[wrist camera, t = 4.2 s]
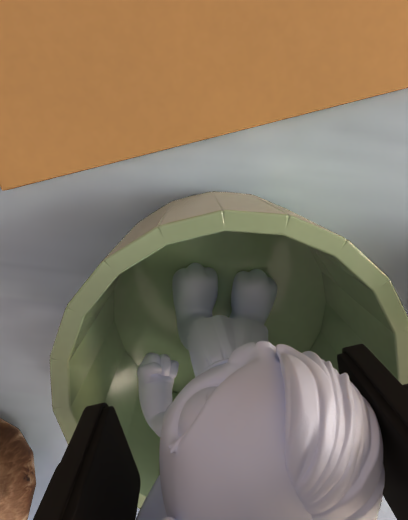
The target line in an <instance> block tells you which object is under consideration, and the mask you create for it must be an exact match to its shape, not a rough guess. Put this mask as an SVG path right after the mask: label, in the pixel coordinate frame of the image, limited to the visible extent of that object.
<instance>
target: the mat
mask: <svg viewBox="0 0 408 520" xmlns="http://www.w3.org/2000/svg"><path fill="white" fill-rule="evenodd" d="M405 88H408V0H0V186H1V189H2V190H9V189H13V188H17V187H21V186H25V185H28V184H32V183H36V182H40V181H44V180H48V179H52V178H56V177H60V176H64V175H68V174H72V173H76V172H79V171H83V170H87V169H91V168H95V167H99V166H103V165H107V164H111V163H115V162H119V161H123V160H127V159H130V158H134V157H138V156H142V155H146V154H150V153H154V152H158V151H162V150H166V149H170V148H174V147H177V146H181V145H185V144H189V143H193V142H197V141H201V140H205V139H209V138H213V137H217V136H221V135H225V134H228V133H232V132H236V131H240V130H244V129H248V128H252V127H256V126H260V125H264V124H268V123H272V122H276V121H279V120H283V119H287V118H291V117H295V116H299V115H303V114H307V113H311V112H315V111H319V110H323V109H327V108H330V107H334V106H338V105H342V104H346V103H350V102H354V101H358V100H362V99H366V98H370V97H374V96H377V95H381V94H385V93H389V92H393V91H397V90H401V89H405Z"/></svg>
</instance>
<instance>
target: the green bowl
mask: <svg viewBox="0 0 408 520" xmlns="http://www.w3.org/2000/svg"><path fill="white" fill-rule="evenodd" d="M195 262H196V263H200V264H201V265H202V266H203V267H210V268H213V269H214V270H215V271H216V273H217V276H218V294H217V299H216V302H215V305H214V307H213V310H212V315H213V316H215V315H224V316H227V317H229V316H230V314H231V311H232V307H231V291H232V285H233V280H234V277H235V275H236V274H237V273H238V272H240V271H247V272H250V271H251V270H253V269H260V270H262V271H263V272H265V273H266V275H267V276H268V277H271V278H272V279H273V280H274V281H275V282H276V284H277V295H276V298H275V301H274V304H273V307H272V309H271V312H270V314H269V316H268V318H267V320H266V322H265V324H264V325H265V326H266V327H267V329H268V342H270V343H271V344H272V345H274V346H275V347H276V346H277V345H278V344H284V345H288V346H290V347H292V348H294V349H295V350H297V351H299V352H301V353H303V352H305V351H312V352H314V353H316V354H317V355H318V356H319V357H320V358H321V359H323V360H324V361H325V362H326V361H330V362H331V364H332V366H333V368H335V369H336V370H337V371H338V372H339V369H338V362H337V355H338V354H341V353H342V349H343V348H344V347H349V346H353V345H357V344H364V345H365V346H366V347H367V348H368V349H369V350H370V351H371V352H372V353H373V354H374V356H375V357H376V358H377V359H378V360H379V361H380V362H381V363H382V364H383V365H384V366H385V367H386V368H387V369H388V370H389V371H390V372H391V373H392V375H393V376H394V377H395V378H396V379H397V380H398V381H399V382H400V383H401V384H402V385H404V384H408V316H407V314H406V312H405V310H404V308H403V306H402V304H401V301H400V299H399V297H398V295H397V293H396V291H395V289H394V287H393V285H392V283H391V281H390V280H389V278H388V276H387V275H385V274H384V273H383V272H382V271H381V270H380V269H379V268H378V267H377V266H376V265H375V264H374V263H373V262H372V261H370V260H369V259H368V258H367V257H366V256H365V255H364V254H363V253H362V252H361V251H360V250H359V249H358V248H356V247H355V246H354V245H353V244H352V243H351V242H350V241H349V240H347V239H345V238H344V237H342V236H340V235H338V234H336V233H334V232H332V231H330V230H328V229H326V228H324V227H322V226H320V225H318V224H316V223H314V222H312V221H310V220H308V219H306V218H304V217H302V216H300V215H298V214H296V213H294V212H292V211H290V210H288V209H286V208H283V207H281V206H279V205H276V204H274V203H272V202H269V201H267V200H265V199H262V198H260V197H258V196H255V195H251V194H242V193H232V192H215V191H213V192H206V193H202V194H197V195H192V196H188V197H185V198H182V199H178V200H174V201H172V202H170V203H168V204H166V205H165V206H163V207H161V208H160V209H158V210H157V211H155V212H153V213H152V214H150V215H149V216H147V217H146V218H144V219H143V220H141V221H140V222H138V223H137V224H136V225H135V226H134V227H133V228H132V229H131V231H130V232H129V233H128V234H127V235H126V236H125V237H124V238H123V239H122V240H121V241H120V242H119V243H118V245H117V246H116V247H115V248H114V249H113V250H112V251H111V252H110V253H109V254H108V255H107V256H106V257H105V258H104V260H103V261H102V262H101V263H100V264H99V265H98V267H97V268H96V269H95V271H94V272H93V273H92V274H91V276H90V277H89V278H88V279H87V281H86V282H85V283H84V284H83V286H82V287H81V288H80V289H79V291H78V292H77V293H76V294H75V296H74V297H73V298H72V299H71V301H70V302H69V303H68V304H67V307H66V308H65V311H64V314H63V317H62V320H61V323H60V326H59V329H58V333H57V336H56V339H55V342H54V345H53V348H52V351H51V354H50V376H51V393H52V407H53V412H54V414H55V416H56V419H57V421H58V423H59V425H60V427H61V430H62V432H63V434H64V436H65V439H66V441H67V443H68V445H69V442H70V440H71V438H72V436H73V433H74V431H75V429H76V426H77V424H78V422H79V420H80V417H81V415H82V413H83V411H84V409H85V407H87V406H91V405H95V404H99V403H104V402H105V403H107V404H108V406H113V407H114V408H115V411H116V413H117V416H118V419H119V421H120V424H121V426H122V429H123V432H124V434H125V437H126V440H127V442H128V445H129V447H130V450H131V453H132V455H133V458H134V461H135V463H136V466H137V468H138V471H139V474H140V481H141V486H140V493H139V499H138V506H137V507H138V508H139V509H141V507H142V505H143V503H144V501H145V499H146V497H147V495H148V494H149V492H150V490H151V488H152V486H153V485H154V483H155V481H156V479H157V478H158V476H159V475H160V468H159V448H160V437H159V436H158V435H157V434H156V433H155V432H154V431H153V430H152V429H151V428H150V426H149V425H148V423H147V421H146V419H145V417H144V414H143V412H142V409H141V405H140V400H139V386H138V376H137V369H138V367H139V365H140V364H141V362H142V361H143V359H144V357H145V355H146V354H148V353H156V354H158V355H161V354H167V355H168V356H169V357H170V360H175V361H177V362H178V363H179V367H178V373H177V376H176V377H175V378H174V385H173V388H172V402H173V401H174V399H175V398H176V396H177V395H178V394H179V392H180V391H181V390H182V389H183V388H184V387H185V386H186V385H187V384H188V383H189V382H190V381H191V380H192V379H194V378H195V374H194V371H193V367H192V363H191V358H190V354H189V350H187V349H186V348H185V347H184V346H183V344H182V343H181V340H180V338H179V335H178V330H177V319H176V312H175V308H174V302H173V292H172V278H173V275H174V274H175V272H176V271H177V270H179V269H181V268H187V267H188V266H189V265H190V264H192V263H195Z"/></svg>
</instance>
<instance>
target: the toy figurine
mask: <svg viewBox="0 0 408 520" xmlns="http://www.w3.org/2000/svg"><path fill="white" fill-rule="evenodd" d="M172 292H173V302H174V308H175V312H176V319H177V330H178V335H179V338H180V340H181V343H182V344H183V346H184V347H185V348H186V349H187V350H189V354H190V358H191V363H192V367H193V371H194V374H195V378H194V379H192V380H191V381H190V382H189V383H188V384H187V385H186V386H185V387H184V388H183V389H182V390H181V391H180V392H179V394H178V395H177V396H176V398H175V399H174V401H173V402H172V388H173V385H174V378H175V377H176V376H177V373H178V367H179V363H178V362H177V361H175V360H170V357H169V356H168V355H167V354H161V355H158V354H156V353H148V354H146V355H145V357H144V359H143V361H142V362H141V364H140V365H139V367H138V369H137V376H138V386H139V400H140V405H141V409H142V412H143V414H144V417H145V419H146V421H147V423H148V425H149V426H150V428H151V429H152V430H153V431H154V432H155V433H156V434H157V435H158V436H159V437H160V448H159V468H160V475H159V476H158V478H157V479H156V481H155V483H154V485H153V486H152V488H151V490H150V492H149V494H148V495H147V497H146V499H145V501H144V503H143V505H142V507H141V509H140V511H139V513H138V516H137V518H136V520H376V519H377V516H378V512H379V509H380V506H381V501H382V495H383V489H384V484H385V470H384V465H383V440H382V434H381V430H380V426H379V423H378V420H377V417H376V415H375V412H374V410H373V408H372V407H371V405H370V404H369V402H368V401H367V400H366V399H365V398H364V397H363V396H362V395H361V394H360V392H359V390H358V389H357V388H356V387H355V385H354V384H353V383H352V382H350V379H349V376H348V374H347V373H343V374H341V375H340V374H339V372H338V371H337V370H336V369H335V368H333V366H332V364H331V362H330V361H326V362H325V361H324V360H323V359H321V358H320V357H319V356H318V355H317V354H316V353H314V352H312V351H305V352H303V353H301V352H299V351H297V350H295V349H294V348H292V347H290V346H288V345H284V344H278V345H277V346H276V347H275V346H274V345H272V344H271V343H270V342H268V329H267V327H266V326H265V325H264V324H265V322H266V320H267V318H268V316H269V314H270V312H271V309H272V307H273V304H274V301H275V298H276V295H277V284H276V282H275V281H274V280H273V279H272V278H271V277H268V276H267V275H266V273H265V272H263V271H262V270H260V269H253V270H251V271H250V272H247V271H240V272H238V273H237V274H236V275H235V277H234V280H233V285H232V291H231V307H232V311H231V314H230V316H229V317H227V316H224V315H215V316H213V315H212V310H213V307H214V305H215V302H216V299H217V294H218V276H217V273H216V271H215V270H214V269H213V268H210V267H203V266H202V265H201V264H200V263H196V262H195V263H192V264H190V265H189V266H188V267H187V268H181V269H179V270H177V271H176V272H175V274H174V275H173V278H172Z"/></svg>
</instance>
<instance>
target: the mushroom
mask: <svg viewBox="0 0 408 520" xmlns="http://www.w3.org/2000/svg"><path fill="white" fill-rule="evenodd" d="M35 486H36V478H35V467H34V456H33V452H32V450H31V448H30V447H29V445H28V443H27V442H26V440H25V438H24V437H23V435H22V433H21V432H20V430H19V429H18V428H16V427H14V426H13V425H11V424H9V423H8V422H6V421H4V420H3V419H1V418H0V520H27V519H28V515H29V511H30V507H31V503H32V499H33V495H34V490H35Z"/></svg>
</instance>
